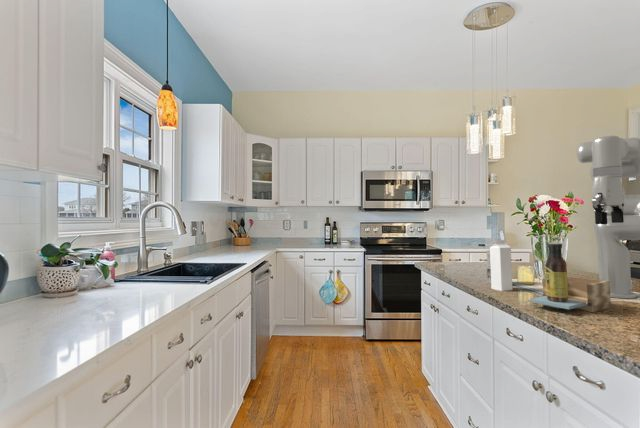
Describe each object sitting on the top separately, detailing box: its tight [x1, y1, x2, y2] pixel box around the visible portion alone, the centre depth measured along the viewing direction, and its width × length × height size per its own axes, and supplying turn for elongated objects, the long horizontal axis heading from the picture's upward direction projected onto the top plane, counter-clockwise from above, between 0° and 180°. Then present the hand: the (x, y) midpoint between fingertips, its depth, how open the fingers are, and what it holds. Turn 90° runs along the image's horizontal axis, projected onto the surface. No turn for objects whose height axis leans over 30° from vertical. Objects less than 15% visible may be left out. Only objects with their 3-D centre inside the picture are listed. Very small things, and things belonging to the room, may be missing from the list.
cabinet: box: [542, 275, 612, 313], centre depth 121 cm, size 12×16×9 cm
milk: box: [489, 239, 513, 292], centre depth 151 cm, size 6×6×22 cm
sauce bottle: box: [544, 242, 568, 302], centre depth 117 cm, size 6×6×20 cm
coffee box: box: [486, 250, 491, 285], centre depth 164 cm, size 9×6×16 cm
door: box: [529, 295, 586, 310], centre depth 117 cm, size 10×12×2 cm
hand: (609, 223), depth 115 cm, fingers open, 9 cm apart
